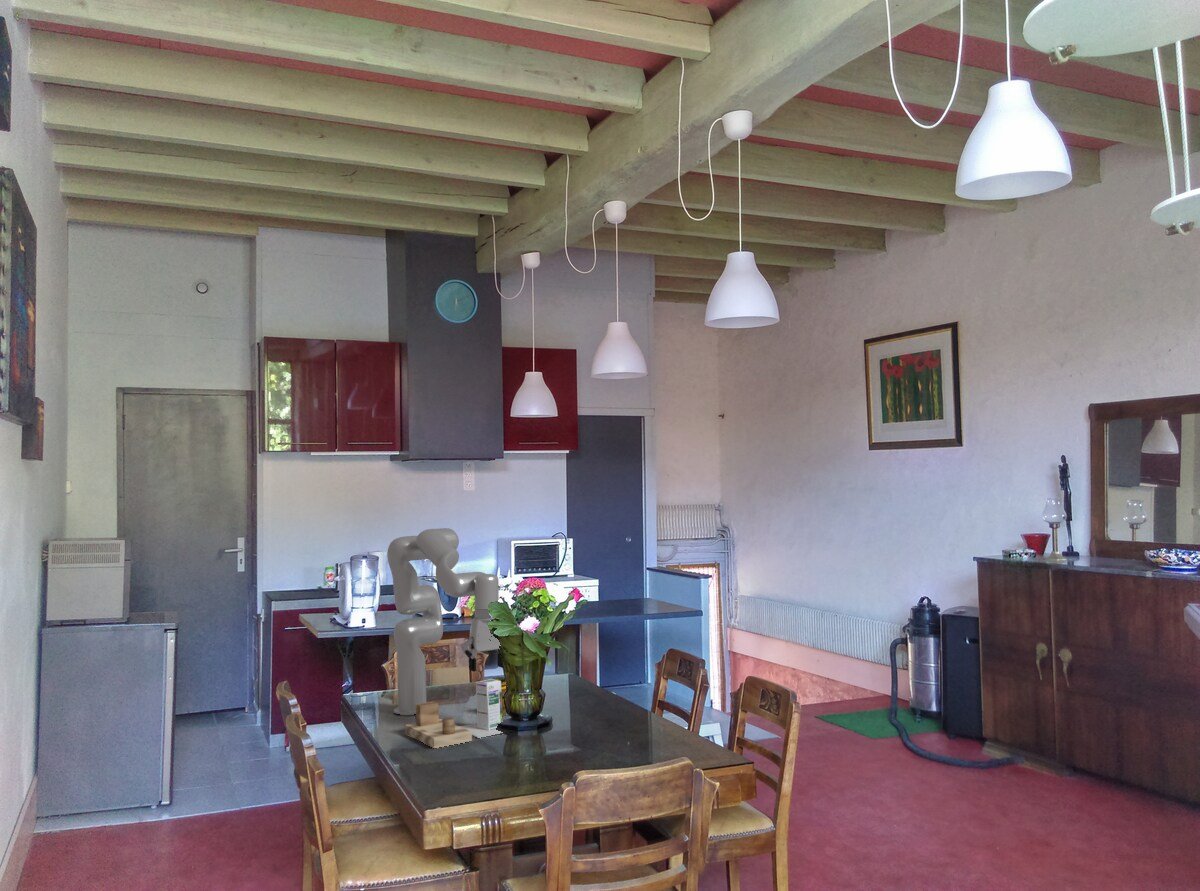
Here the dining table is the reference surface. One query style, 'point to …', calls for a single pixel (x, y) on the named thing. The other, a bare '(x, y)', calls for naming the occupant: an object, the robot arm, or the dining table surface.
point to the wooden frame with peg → (436, 727)
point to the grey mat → (480, 731)
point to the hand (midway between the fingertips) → (487, 668)
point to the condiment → (502, 692)
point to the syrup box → (489, 704)
